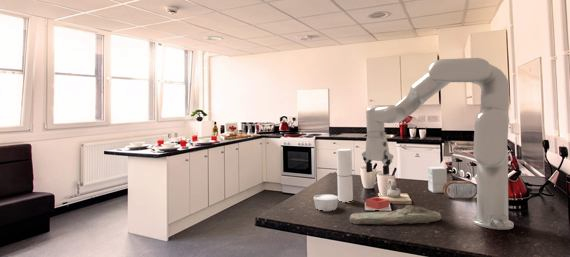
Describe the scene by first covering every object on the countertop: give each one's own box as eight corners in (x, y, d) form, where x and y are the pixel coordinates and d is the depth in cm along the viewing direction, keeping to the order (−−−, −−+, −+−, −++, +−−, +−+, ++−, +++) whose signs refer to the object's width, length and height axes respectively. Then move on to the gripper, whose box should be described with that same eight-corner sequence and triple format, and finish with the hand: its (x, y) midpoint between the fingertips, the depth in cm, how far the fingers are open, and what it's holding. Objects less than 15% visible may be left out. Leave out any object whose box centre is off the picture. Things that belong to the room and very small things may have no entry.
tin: (475, 197, 151) (475, 180, 151) (478, 199, 148) (478, 181, 148) (442, 197, 153) (442, 180, 152) (445, 199, 150) (445, 181, 149)
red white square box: (389, 206, 139) (388, 199, 139) (378, 209, 136) (377, 202, 136) (376, 203, 145) (376, 196, 145) (366, 205, 142) (365, 199, 141)
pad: (391, 211, 134) (391, 210, 134) (365, 210, 136) (364, 209, 136) (389, 204, 145) (389, 203, 145) (364, 203, 147) (364, 202, 147)
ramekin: (320, 203, 149) (319, 193, 149) (342, 206, 143) (342, 195, 143) (309, 210, 139) (309, 198, 139) (333, 213, 134) (332, 201, 133)
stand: (411, 204, 143) (411, 184, 143) (379, 203, 146) (379, 184, 146) (407, 196, 157) (406, 178, 157) (378, 195, 160) (377, 178, 160)
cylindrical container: (337, 202, 150) (336, 150, 150) (338, 198, 157) (337, 149, 157) (352, 202, 149) (351, 150, 148) (353, 198, 156) (351, 148, 155)
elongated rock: (347, 221, 127) (352, 232, 117) (346, 209, 126) (351, 218, 117) (433, 214, 127) (446, 224, 117) (433, 201, 126) (445, 210, 116)
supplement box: (442, 189, 169) (442, 166, 168) (447, 192, 161) (447, 168, 161) (428, 189, 170) (427, 166, 169) (432, 192, 162) (432, 168, 162)
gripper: (397, 134, 134) (399, 174, 134) (367, 134, 149) (368, 170, 149) (385, 135, 130) (387, 176, 130) (355, 135, 145) (357, 172, 145)
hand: (377, 173), depth 140 cm, fingers open, 9 cm apart
